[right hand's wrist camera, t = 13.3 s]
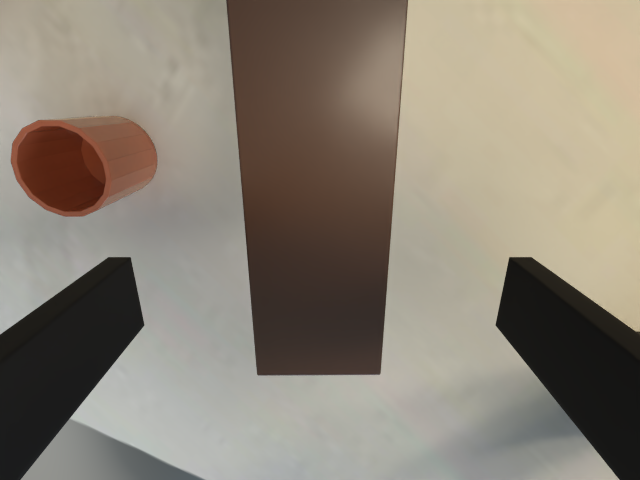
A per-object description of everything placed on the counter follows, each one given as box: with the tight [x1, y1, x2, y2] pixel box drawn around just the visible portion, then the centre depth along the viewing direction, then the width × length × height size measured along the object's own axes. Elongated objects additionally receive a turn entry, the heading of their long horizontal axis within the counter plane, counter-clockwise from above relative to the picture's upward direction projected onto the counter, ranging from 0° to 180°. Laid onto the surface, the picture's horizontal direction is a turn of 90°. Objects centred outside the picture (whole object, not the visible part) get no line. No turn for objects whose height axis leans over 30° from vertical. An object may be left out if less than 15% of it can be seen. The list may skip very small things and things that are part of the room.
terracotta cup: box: [11, 116, 157, 216], centre depth 29 cm, size 7×7×8 cm
